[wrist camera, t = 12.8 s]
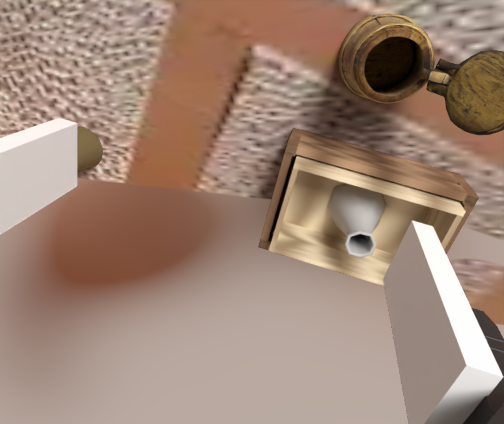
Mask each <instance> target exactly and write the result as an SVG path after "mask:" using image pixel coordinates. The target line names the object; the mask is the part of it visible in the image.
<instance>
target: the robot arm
mask: <svg viewBox="0 0 504 424" xmlns="http://www.w3.org/2000/svg"><path fill="white" fill-rule="evenodd" d="M75 187H77V123H75V122H71V121H68V120H64V119H61V118H58V119H55V120H52V121H49V122H46V123H43V124H40V125H37V126H34V127H31V128H28V129H25V130H23V131H20V132H17V133H14V134H11V135H8V136H5V137H2V138H0V234H2V233H4V232H5V231H7V230H8V229H10V228H12V227H13V226H15V225H17V224H18V223H20V222H21V221H23V220H24V219H26V218H28V217H29V216H31V215H32V214H34V213H36V212H37V211H39V210H40V209H42V208H43V207H45V206H47V205H48V204H50V203H52V202H53V201H55V200H56V199H58V198H60V197H61V196H63V195H64V194H66V193H67V192H69V191H71V190H72V189H74V188H75ZM383 282H384V287H385V293H386V299H387V305H388V311H389V316H390V321H391V328H392V333H393V339H394V344H395V350H396V356H397V361H398V367H399V373H400V378H401V384H402V390H403V395H404V401H405V406H406V412H407V418H408V423H409V424H504V339H503V337H502V335H501V333H500V331H499V329H498V327H497V326H496V325H495V324H494V322H493V321H492V320H491V319H490V318H489V317H488V316H487V315H486V314H485V313H484V312H483V311H480V310H477V309H474V308H471V307H470V305H469V302H468V300H467V298H466V296H465V294H464V292H463V290H462V287H461V285H460V283H459V281H458V279H457V277H456V275H455V273H454V270H453V268H452V266H451V264H450V262H449V260H448V258H447V255H446V253H445V251H444V249H443V247H442V245H441V243H440V241H439V238H438V236H437V234H436V232H435V230H434V228H433V226H430V225H426V224H423V223H419V222H416V221H411V223H410V225H409V227H408V229H407V231H406V233H405V235H404V237H403V239H402V241H401V243H400V245H399V247H398V249H397V252H396V254H395V256H394V258H393V260H392V262H391V264H390V266H389V268H388V270H387V272H386V274H385V276H384V278H383Z"/></svg>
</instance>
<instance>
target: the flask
mask: <svg viewBox="0 0 504 424" xmlns="http://www.w3.org/2000/svg"><path fill="white" fill-rule="evenodd" d="M385 207H386V203H385V200H384V197H383V195H382V193H379V192H375V191H372V190H368V189H365V188H361V187H358V186H354V185H351V184H347V183H344V184H341V185H338V186H336V187H334V188H333V191H332V194H331V197H330V200H329V204H328V209H329V212H330V214H331V216H332V219H333V221H334V224H335V225H336V227H338V228H339V229H340V230H341V231H342V232H343V233H344V234H345V235H346V236H347V239H346V242H345V247H346V249H347V251H348V254H349V255H352V256H356V257H359V258H362V257H365V256H369V255H372V254H373V252H374V249H375V247H376V242H375V239H374V237H373V234H372V233H373V231H374V230H375V228H376V227H377V226H378V224H379V222H380V219H381V217H382V214H383V212H384V210H385Z"/></svg>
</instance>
